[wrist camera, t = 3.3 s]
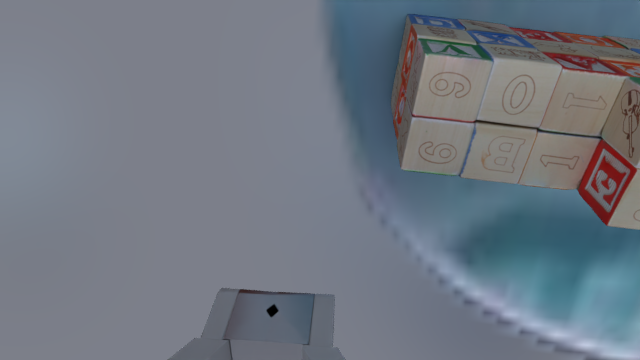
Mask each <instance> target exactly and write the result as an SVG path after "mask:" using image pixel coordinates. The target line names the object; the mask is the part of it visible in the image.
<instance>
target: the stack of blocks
mask: <svg viewBox="0 0 640 360" xmlns="http://www.w3.org/2000/svg"><path fill="white" fill-rule="evenodd" d="M391 110H392V114H393V118H394V120H393V124H394V128H395V133H396V137H397V149H398V155H399V162H400V167H401V169H402V170H405V171H413V172H422V173H432V174H439V175H451V176H456V175H459V176H460V177H461V178H467V179H477V180H484V181H494V182H503V183H510V184H516V183H518V184H520V185H525V186H534V187H543V188H554V189H564V190H569V189H577V190H578V192H579V194H580V195H581V197H582V198H583V199H584V200H585V201H586V202H587V203H588V205H589V206H590V207H591V208H592V210H593V211H594V212H595V213H596V214H597V215H598V217H599V218H600V219H601V220H602V222H603V223H605V224H606V225H607V226H612V227H620V228H629V229H640V40H637V39H629V38H621V37H612V36H603V37H595V36H587V35H579V34H570V33H562V32H553V33H551V32H545V31H538V30H529V29H520V28H512V27H507V26H506V25H504V24H496V23H489V22H480V21H472V20H464V19H449V18H441V17H433V16H424V15H415V14H408V15H407V18H406V24H405V29H404V34H403V40H402V45H401V50H400V55H399V61H398V65H397V69H396V74H395V79H394V85H393V90H392V97H391Z"/></svg>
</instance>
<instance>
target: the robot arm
mask: <svg viewBox="0 0 640 360" xmlns="http://www.w3.org/2000/svg"><path fill="white" fill-rule="evenodd" d="M334 306H335V296H334V295H329V294H328V295H327V294H310V293H290V292H268V291H257V290H244V289H229V288H221V289H220V291H219V292H218V293H217V296H216V299H215V301H214V304H213V307H212V309H211V312H210V315H209V317H208V320H207V322H206V325H205V328H204V330H203V333H202V335H201V338H194V339H193V340H192V341H190V342H189V343H188V344H187V345H185V346H184V347H183V348H182V349H180V350H179V351H178V352H177V353H175V354H174V355H173V356H172V357H170V358H169V359H168V360H346V359H345V358H344V356H343V355H342V353H341V352H340V350H339V349H338V348H337V347H333V333H334Z"/></svg>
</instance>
